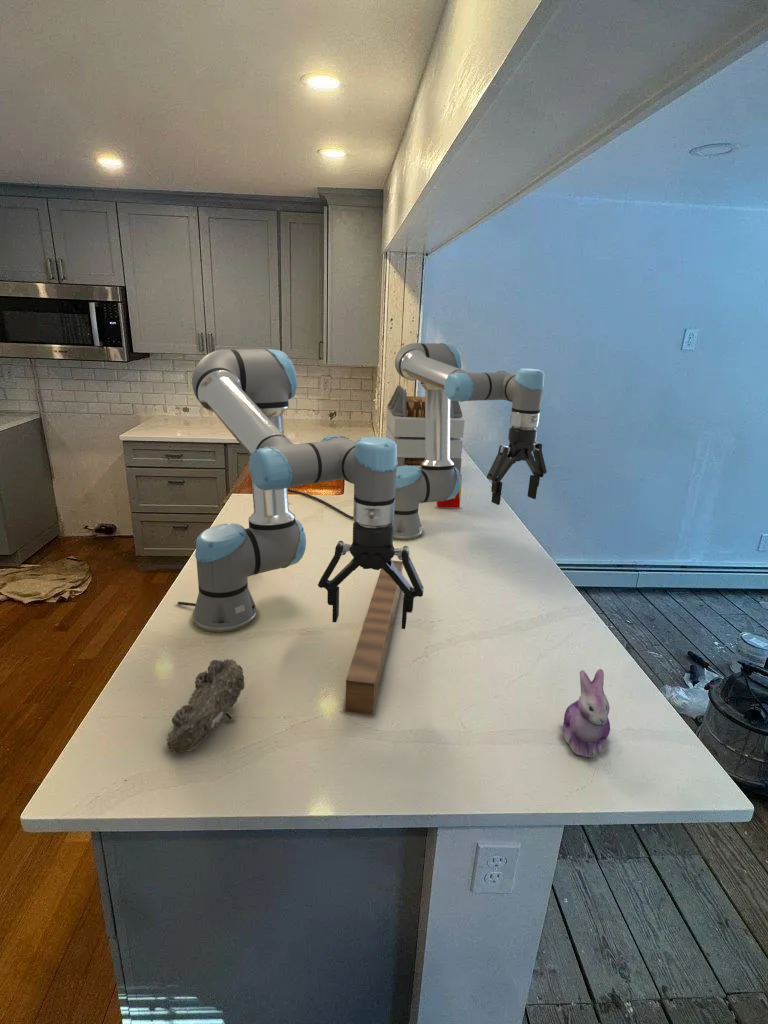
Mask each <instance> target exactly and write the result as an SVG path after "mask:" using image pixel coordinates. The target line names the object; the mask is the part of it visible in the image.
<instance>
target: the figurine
mask: <svg viewBox="0 0 768 1024" xmlns="http://www.w3.org/2000/svg"><path fill="white" fill-rule="evenodd" d="M579 683H580V695H579V697H578V700H576V701H574V702H572V703H571V704H569V705H568V706H567V707H566V709H565V713H564V715H563V716H564V717H563V724H562V736H563V739H564V741H565V742H566V744H568V746H569V747H570V749H571V751H572V753H574V754H575V755H577V756H581V757H584V758H595V756H596V754H601V753H602V752H603V751H604V749H605V746H606V742H607V738H608V737H609V735H610V732H611V722H610V719H609V717H608V716H609V714H610V710H611V709H610V708H611V707H610V703H609V699H608V697H607V695H606V693H605V691H604V683H605V673H604V670H603V669H602V668H598V669H597V670H596V672H595V674H594V677H593V680H591V679H590V677H589V675H588V673H586V672H585V671H584V670H580V671H579Z"/></svg>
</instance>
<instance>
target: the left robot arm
mask: <svg viewBox="0 0 768 1024" xmlns="http://www.w3.org/2000/svg"><path fill="white" fill-rule="evenodd" d="M297 377H298V376H297V372H296V369H295V366H294V364H293V361H292V359H290V357H289V356H288V355H287V353H285V352H284V351H282V350H279V349H271V348H257V349H255V348H254V349H253V348H252V349H251V348H250V349H249V348H247V349H245V348H244V349H225V348H224V349H217V350H214V351H212V352H210V353H208V354H206V355H204V356H203V358H201V359H200V360H199V361H198V363H197V365H196V366H195V367H194V370H193V373H192V376H191V386H192V391H193V393H194V396H195V398H196V400H197V401H198V402H199V403H200V405H201V406H202V407H203V408H204V409H205V410H207V411H209V412H211V413H214V415H216V417H217V418H218V420H220V421H221V423H222V424H223V425H224V427H225V428H226V429H227V430H228V431H229V432H230V434H231V435H232V436H233V437H234V438H235V440H236V441H237V442H238V443H239V444H240V446H241V447H242V448H243V449H244V451H245V452H246V453H247V455H249V460H248V461H249V462H248V467H249V474H250V477H251V489H252V490H251V493H252V503H253V513H252V514H251V515H250V516H249V517H248V527H247V528H245V527H244V526H243V525H241V524H238V523H230V524H229V523H222V524H217V525H213V526H210V527H209V528H207V529H205V530H203V531H202V532H200V534H199V535H198V536H197V538H196V539H195V553H194V557H195V560H196V572H197V584H198V586H197V587H198V594H197V597H196V601H195V603H194V602H186V601H178V602H177V604H178V605H180V606H189V607H194V609H193V611H192V620H193V625H194V626H195V627H196V628H197V629H199V630H201V631H203V632H206V633H211V634H227V633H233V632H237V631H240V630H243V629H245V628H247V627H248V626H250V625H251V624H253V622H254V621H255V620H256V618H257V607H256V604H255V601H254V599H253V595H252V594H251V592H250V589H249V585H248V578H249V577H250V576H254V575H255V576H256V575H259V574H262V573H263V574H264V573H266V572H272V571H275V570H279V569H286V568H288V567H290V566H293V565H296V564H298V563H299V562H300V561H301V560H302V559H303V557H304V555H305V553H306V548H307V537H306V536H307V535H306V532H305V531H304V529H305V528H304V526H303V524H302V523H301V522H300V520H298V519H296V514H294V513H293V512H292V511H291V510H290V509H289V507H290V506H289V493H288V490H287V489H290V488H295V487H300V486H306V485H311V484H319V483H325V482H331V481H337V480H344V481H345V482H348V483H349V484H352V485H353V510H352V511H353V513H352V514H353V515H352V516H353V519H352V520H353V521H354V522H353V523H352V543H351V544H349V543H345V542H344V541H343V540H339V541H338V542H337V543H336V545H335V548H334V555H333V556H332V558H331V560H330V561H329V563H328V565H327V566H326V569H325V570H324V572H323V573H322V576H321V577H320V579H319V581H318V583H317V586H318V588H319V589H322V588H323V589H325V590H326V591H327V601H326V603H327V605H328V606H332V616H331V617H332V621H331V622H332V623H337V621H338V618H339V617H340V586H339V585H340V584H342V582H343V581H345V580H346V578H347V577H349V576H350V575H351V574H352V573H353V572H354V571H356V570H357V569H358V568H359V567H360V568H362V569H363V570H369V569H370V570H374V571H380V570H381V569H382V568H383V570H384V571H385V572H386V573H387V574H389V575H390V577H391V578H392V579H393V580H394V582H395V583H396V584H397V585H398V586H399V588H400V589H401V590H400V591H402V593H403V598H402V609H401V610H402V611H401V612H402V613H401V630H406V626H407V619H408V617H407V616H408V613H409V614H410V613H413V610H414V600H415V598H416V597H417V598H418V597H423V596H424V590H425V588H424V585H423V583H422V581H421V579H420V577H419V574H418V573H417V570H416V567H415V566H414V564H413V561H412V559H411V557H410V547H409V546H407V545H404V546H403V547H397V548H395V547H394V544H393V543H394V542H393V541H394V539H393V527H394V525H393V523H392V522H393V521H394V509H395V488H396V472H397V465H398V462H397V445H396V443H395V442H394V441H393V440H391V439H389V438H386V437H383V436H375V435H371V436H370V435H369V436H362V437H359V438H358V439H357V440H356V441H355V440H353V439H351V438H349V437H346V436H344V435H336V434H330V435H327V436H325V437H324V438H323V439H321V440H320V441H313V442H305V443H293V442H292V441H291V440H290V439H289V438H288V437H286V435H285V428H284V413H285V412H286V411H287V410H288V409H289V407H290V405H289V400H291V399H293V398H294V397H295V395H296V394H297V389H298V378H297ZM347 553H350V554H351V556H352V559H351V560H350V561H349V562H348V563H347V564H346V566H344V567H343V568H342V569H341V570H340V571H339V572H338V573H337V574H336V575H335V576H334V577H333V578H332V579H330V580H329V578H330V577H331V575H332V573H333V572H334V570H335V569H336V567H337V565H338V563H339V561H340V559H341V557H342V556H345V555H346V554H347ZM394 556H396V557H397V558H398V561H402V563H403V569H404V570H405V572H406V574H407V576H408V579H409V581H410V582H409V581H408V580H407V579H406V578H405V576H404V575H403V573H402V574H401V573H400V571H399V570H398V569H397V568H396V566H395V565H394V563H393V561H394V560H393V558H394ZM392 560H393V561H392ZM410 583H411V584H410Z"/></svg>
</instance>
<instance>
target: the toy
mask: <svg viewBox="0 0 768 1024" xmlns="http://www.w3.org/2000/svg"><path fill="white" fill-rule="evenodd" d="M462 475H463V474H460V477H461V481H463V480H462V477H463V476H462ZM461 493H462V484H461V485H460V489H459V492H458V494H457V495H456V496H455V497H454V498H452V499H450V500H445V501H436V508H447V509H448V508H449V509H450V508H452V509H460V507H461V505H460V504H461Z"/></svg>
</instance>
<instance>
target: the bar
mask: <svg viewBox="0 0 768 1024" xmlns="http://www.w3.org/2000/svg"><path fill="white" fill-rule="evenodd" d="M391 560H392V561H393V563H394V565H395V566H396V568H397V569H398V570H399V571H400V573H401V574H402V575H403V569H404V566H403V563H402V560H393V559H391ZM375 583H376V584H375V586H374V589H373V593H372V596H371V599H370V602H369V606H368V609H367V612H366V615H365V618H364V622H363V625H362V628H361V631H360V635H359V638H358V641H357V644H356V647H355V651H354V654H353V657H352V660H351V663H350V667H349V670H348V672H347V676H346V679H345V709H344V710H345V711H344V712H347V713H354V714H361V715H362V714H363V715H370V716H374V711H375V707H376V703H377V698H378V694H379V690H380V685H381V681H382V676H383V671H384V667H385V662H386V657H387V653H388V648H389V644H390V640H391V639H390V638H391V635H392V631H393V627H394V623H395V622H394V620H395V617H396V612H397V608H398V603H399V599H400V594H401V591H402V590H401V589H400V588H399V586H398V585H397V584H396V583H395V582H394V580H393V579H392V578H391V577H390V575H389V574H387V573H386V572H385V571H384V570H383V568H382V569H379V573H378V577H377V581H376V582H375Z"/></svg>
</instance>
